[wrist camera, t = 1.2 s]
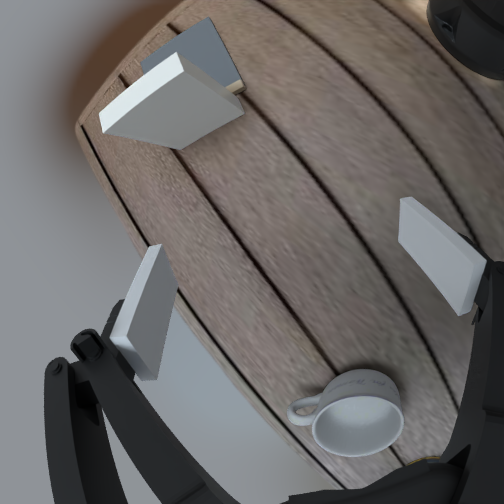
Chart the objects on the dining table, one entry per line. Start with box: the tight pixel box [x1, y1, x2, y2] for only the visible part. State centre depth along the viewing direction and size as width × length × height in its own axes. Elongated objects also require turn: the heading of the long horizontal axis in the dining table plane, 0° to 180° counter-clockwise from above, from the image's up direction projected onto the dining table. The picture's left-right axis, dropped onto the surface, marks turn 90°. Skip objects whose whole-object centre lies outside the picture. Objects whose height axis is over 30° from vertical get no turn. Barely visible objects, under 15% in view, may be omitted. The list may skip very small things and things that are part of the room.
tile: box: [99, 52, 245, 150], centre depth 28 cm, size 3×10×14 cm, turn 113°
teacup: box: [287, 369, 404, 457], centre depth 30 cm, size 14×11×8 cm
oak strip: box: [225, 79, 246, 95], centre depth 34 cm, size 1×13×1 cm, turn 113°
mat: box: [140, 17, 245, 87], centre depth 34 cm, size 15×13×1 cm
